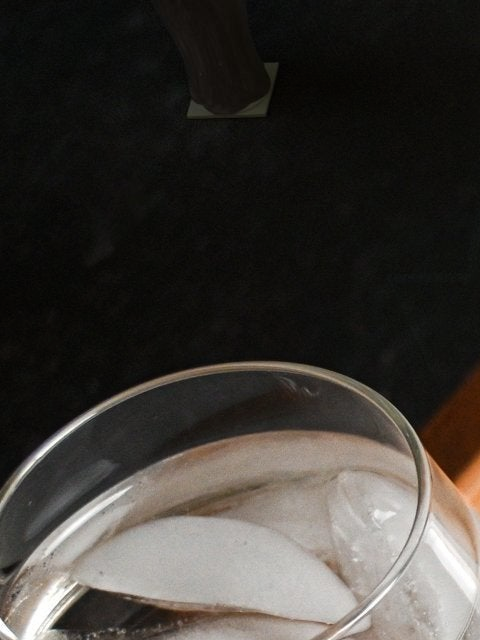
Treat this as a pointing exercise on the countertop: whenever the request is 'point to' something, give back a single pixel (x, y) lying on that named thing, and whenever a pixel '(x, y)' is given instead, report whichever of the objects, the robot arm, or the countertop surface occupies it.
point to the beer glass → (217, 53)
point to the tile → (255, 111)
